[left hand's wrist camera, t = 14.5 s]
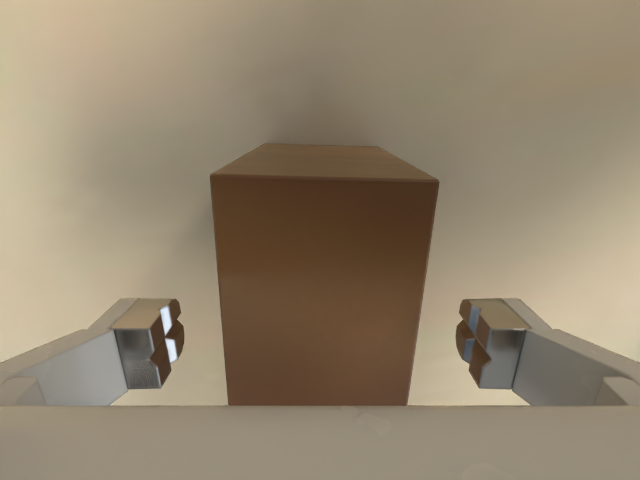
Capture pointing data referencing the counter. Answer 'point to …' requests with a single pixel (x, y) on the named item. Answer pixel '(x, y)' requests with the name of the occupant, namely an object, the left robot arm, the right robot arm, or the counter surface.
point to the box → (321, 273)
